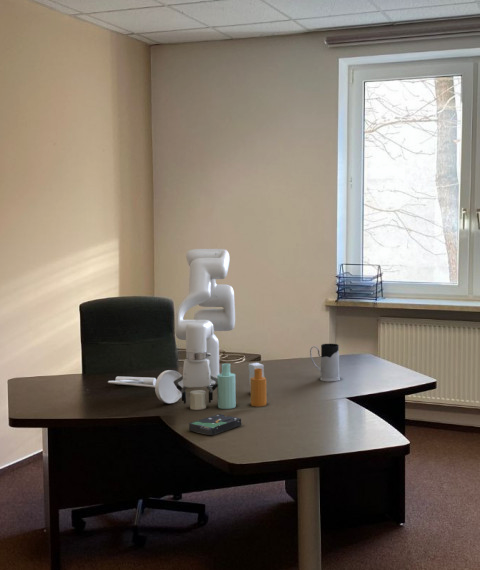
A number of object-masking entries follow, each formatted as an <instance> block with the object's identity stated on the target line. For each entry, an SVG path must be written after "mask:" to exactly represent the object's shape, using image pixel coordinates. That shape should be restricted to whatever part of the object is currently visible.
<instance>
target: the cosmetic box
mask: <svg viewBox="0 0 480 570" xmlns="http://www.w3.org/2000/svg"><path fill="white" fill-rule="evenodd" d="M257 368H260V369H262V377H265V369H264V368H265V367H264V364H262V363H259V362H251V363H248V379H249V394H251V383H250V378H252V377H254V369H257Z"/></svg>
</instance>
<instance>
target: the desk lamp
mask: <svg viewBox="0 0 480 570" xmlns="http://www.w3.org/2000/svg"><path fill="white" fill-rule="evenodd" d="M181 376H182V374H181V373H180V372H178V371H177V370H173V369H172V370H171V369H170V370H169V369H168V370H164V371H162V372H160V374H159V375H158V376H157V378H156V377H144V376H143V377H142V376H116V377H115V380H108V381H107V383H108V384H114V385H116V386H117V385H118V386H119V385H120V386H134V387H146V388H154V392H155V395H156V397H157V399H158V400H159V401H161V402H162V403H165V404H175V403H176V402H178V401H179V400H180V399H182V393H181V392H180V391H179V390H178V389H177V387H176V386H175V384H174V380H176V379H178V378H179V377H181ZM178 383H179V385H180V386H181V387H182V388H183V386H184V385H183V380H181V381H180V382H178Z"/></svg>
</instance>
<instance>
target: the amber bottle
mask: <svg viewBox="0 0 480 570" xmlns="http://www.w3.org/2000/svg"><path fill="white" fill-rule="evenodd" d="M250 383H251V393H250V406H252V407H257V408H258V407H264V406H267V378H266V377H265V376H264V377H262V369H260V368H257V369H254V377H252V378H250ZM250 383H249V384H250Z"/></svg>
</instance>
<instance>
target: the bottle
mask: <svg viewBox="0 0 480 570" xmlns="http://www.w3.org/2000/svg"><path fill="white" fill-rule="evenodd" d="M217 379H218V386H217V388H216V389H217V391H216V392H217V408H218V409H221V410H231V409H234V408H236V406H237V399H236V396H237V395H236V393H237V392H236V391H237V390H236V373H232V372H231V363H222V364H221V373H219V374H218V375H217Z"/></svg>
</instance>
